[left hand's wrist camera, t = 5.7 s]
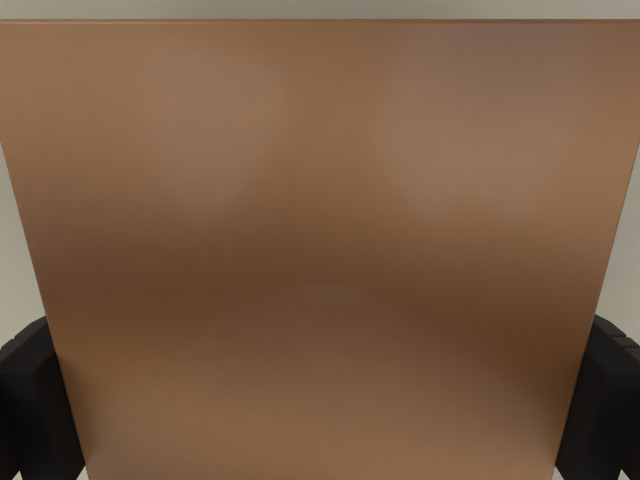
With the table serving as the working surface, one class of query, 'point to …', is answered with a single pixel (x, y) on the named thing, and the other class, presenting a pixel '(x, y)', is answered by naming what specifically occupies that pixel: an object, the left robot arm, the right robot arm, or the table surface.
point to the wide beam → (320, 236)
